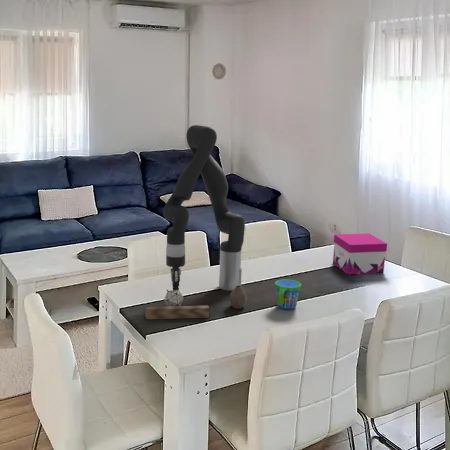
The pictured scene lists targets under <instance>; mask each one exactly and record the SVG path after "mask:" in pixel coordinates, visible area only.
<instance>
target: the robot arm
mask: <svg viewBox="0 0 450 450" xmlns="http://www.w3.org/2000/svg"><path fill="white" fill-rule="evenodd" d="M217 135H218V134H217V132H216V130H215V129H214V128H213V127H211V126H206V125H201V124H200V125H199V124H198V125H197V124H195V125H194V124H193V125H191V126H189V128H188V129H187V131H186V137H185V138H186V142H187V146H188V148H189V149H190V151H191V153H192V155H193V158H192V159H191V160H190V162H189V163H188V164H187V165H186V167H185V168H184V169H183V170H182V172H181V173H180V175H179V178H178V179H177V182H176V185H175V188H174V191H173V192H172V193H171V195H170V197H169V198H168V200H167V201H166V203H165V205H164V208H163V211H162V213H163V218H164V219H165V220H167V221H169V222H173V226H170V227H169V228H168V229H167V230H166V248H165V250H166V251H165V253H166V254H165V256H166V259H165V263H166V266H167V267H170V278H171V282H172V283H171V284H172V290H178V288H180V282H181V275H182V270H181V267H184V266H186V240H185V238H186V237H185V235H186V229H187V226H188V222H189V219H190V215H189V214H190V213H189V210H188V208H187V207H186V206H184V205H182V204H183V203H184V202H186V201H189V200H190V199H191V198H192V195H193V192H194V190H195V188H196V187H195V186H196V184H197V181H198V179H199V176H201V178H202V181H203V184H204V187H205V190H206V193H207V195H208V198H209V200H210V204H211V207H212V209H213V214H214V218H215V223H216V225H217V226H216V227H217V229H218V230H219V231H220V232H221V233H223V234H225V235H228V237H227V240H225V241H224V240H223V241H222V242H221V243H220V245H219V247H220V248H219V276H218V280H219V281H218V288H219V289H220V290H224V291H231V292H232V291H233V290H234V289H235V287H236V286H241V287H242V270H243V269H242V267H241V265H242V248H243V245H244V241H245V228H246V224H245V223H246V222H245V218H244V217H243V216H242V215H241V214H237V213H234V212H233V213H232V212H231V211H230V210H229V207H228V204H227V196H228V194H229V183H228V181H227V177H226V174H225V172H224V170H223V168H222V167H221V166H220V165H219V163H218V162H217V161H216V160H215V158H214V157H213V156H212V152H213V149H214V148H215V145H216V143H217V139H218V137H217Z"/></svg>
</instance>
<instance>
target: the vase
mask: <svg viewBox="0 0 450 450" xmlns="http://www.w3.org/2000/svg"><path fill="white" fill-rule="evenodd" d="M247 296H248V295H247V294H246V292H245V290H244V288H243V286H242V285H241V286H236V287H235V289H234V290H233V291H231V292H230V294H229V303H230V304H229V305H230V306H231V307H232V308H233V309H236V310H241V309H243V308H244V307H245V306H246V304H247V300H248V297H247Z"/></svg>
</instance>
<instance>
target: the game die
mask: <svg viewBox="0 0 450 450" xmlns="http://www.w3.org/2000/svg"><path fill="white" fill-rule="evenodd" d="M185 299H187V297H184V296H183V294H182V293H181V292H180V287H178V290H173V289H172V290H168V289H166V295H165V297H164V299H162V300H161V301H162V302H164V303H165V304H166V306H183V305H182V304H183V302H184V300H185Z"/></svg>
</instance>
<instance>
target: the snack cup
mask: <svg viewBox="0 0 450 450" xmlns="http://www.w3.org/2000/svg"><path fill="white" fill-rule="evenodd" d="M274 287H275V294H276V305H277V307H278V308H280V309H282V310H293V309H295V308H296V306H297V304H298V299H299V294H300V290H301V288H302V283H301V282H299V281H297V280H294V279H290V278H289V279H288V278H284V279H283V278H282V279H278V280H276V281H274Z"/></svg>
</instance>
